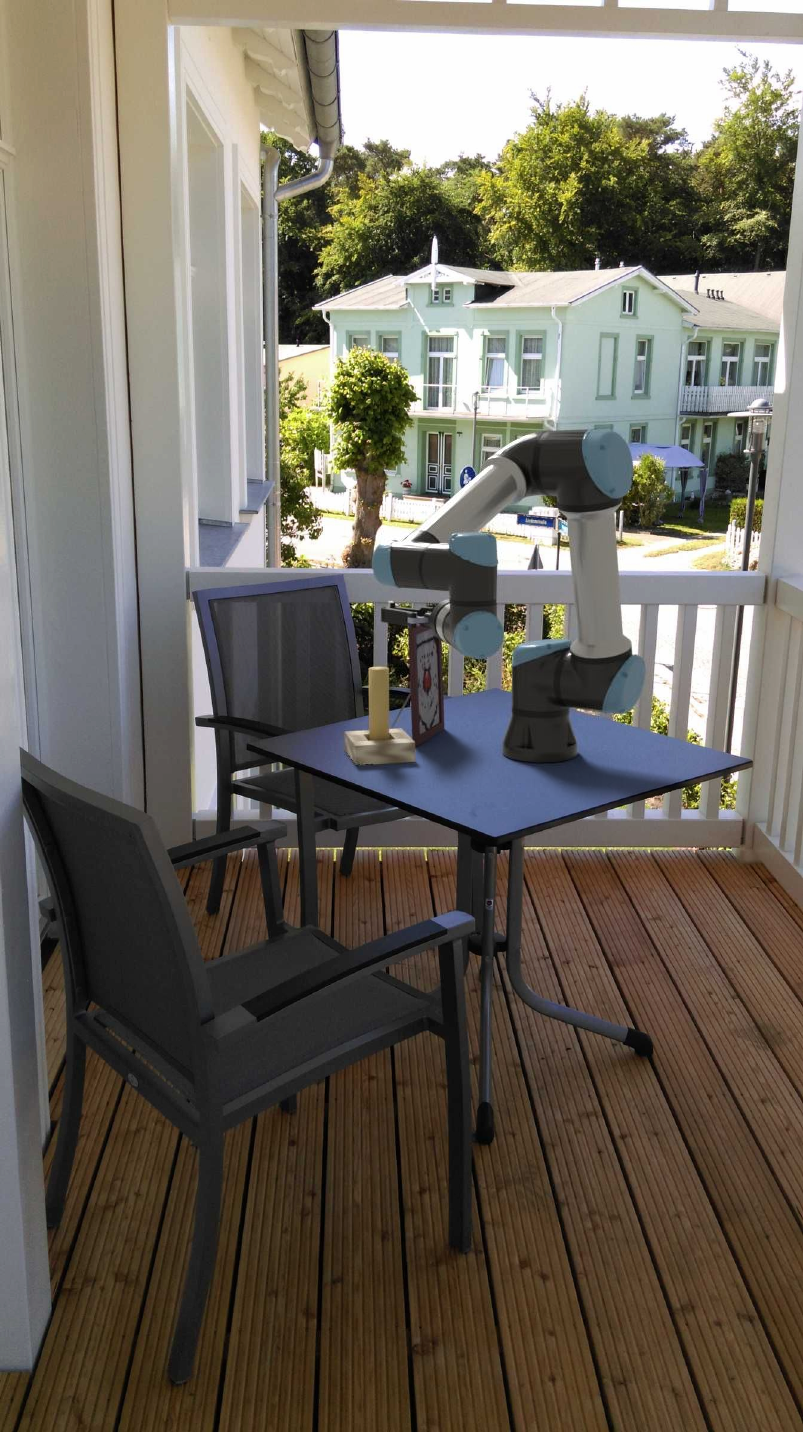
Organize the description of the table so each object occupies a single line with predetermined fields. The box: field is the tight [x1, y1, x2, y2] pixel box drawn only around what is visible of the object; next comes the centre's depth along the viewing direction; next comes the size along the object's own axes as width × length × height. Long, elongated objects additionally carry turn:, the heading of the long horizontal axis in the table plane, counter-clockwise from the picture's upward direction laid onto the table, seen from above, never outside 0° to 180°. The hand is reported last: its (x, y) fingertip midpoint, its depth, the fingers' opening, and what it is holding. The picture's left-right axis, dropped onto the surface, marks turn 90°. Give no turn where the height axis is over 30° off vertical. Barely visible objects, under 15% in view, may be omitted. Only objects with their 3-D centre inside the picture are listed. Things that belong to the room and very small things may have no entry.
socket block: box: [344, 727, 416, 766], centre depth 234 cm, size 12×12×4 cm
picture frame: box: [390, 624, 446, 747], centre depth 248 cm, size 17×10×25 cm, turn 158°
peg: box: [368, 666, 390, 741], centre depth 232 cm, size 4×4×18 cm
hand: (425, 606), depth 215 cm, fingers open, 13 cm apart
